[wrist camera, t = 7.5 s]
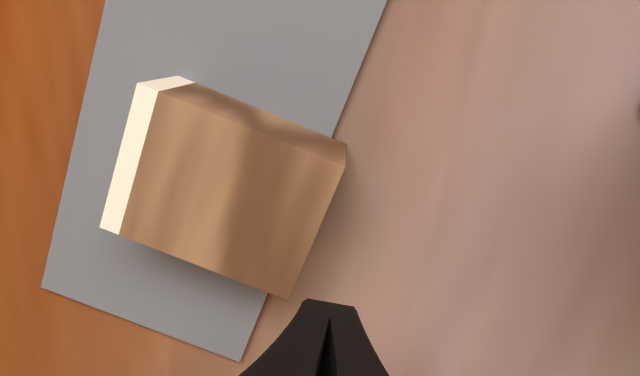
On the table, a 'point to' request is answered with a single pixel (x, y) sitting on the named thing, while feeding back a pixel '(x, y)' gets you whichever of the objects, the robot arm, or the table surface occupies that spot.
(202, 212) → the brown and cream block
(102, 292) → the mat
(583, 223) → the table surface
